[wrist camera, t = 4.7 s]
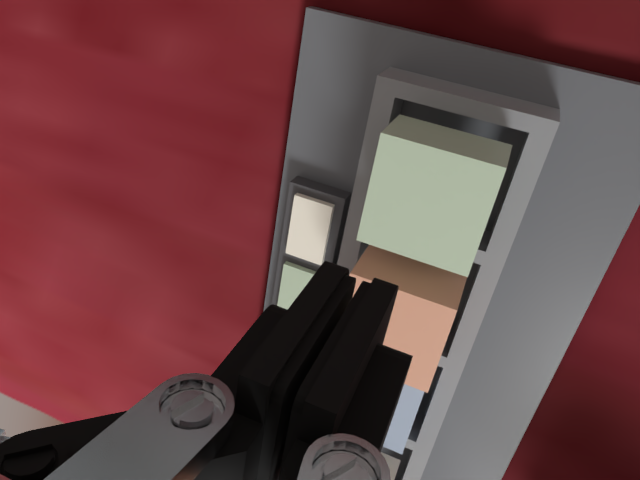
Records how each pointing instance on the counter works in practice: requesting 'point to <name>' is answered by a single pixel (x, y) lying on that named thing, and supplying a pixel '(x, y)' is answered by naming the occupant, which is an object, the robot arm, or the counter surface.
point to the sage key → (432, 192)
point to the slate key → (403, 419)
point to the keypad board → (503, 224)
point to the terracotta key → (415, 308)
